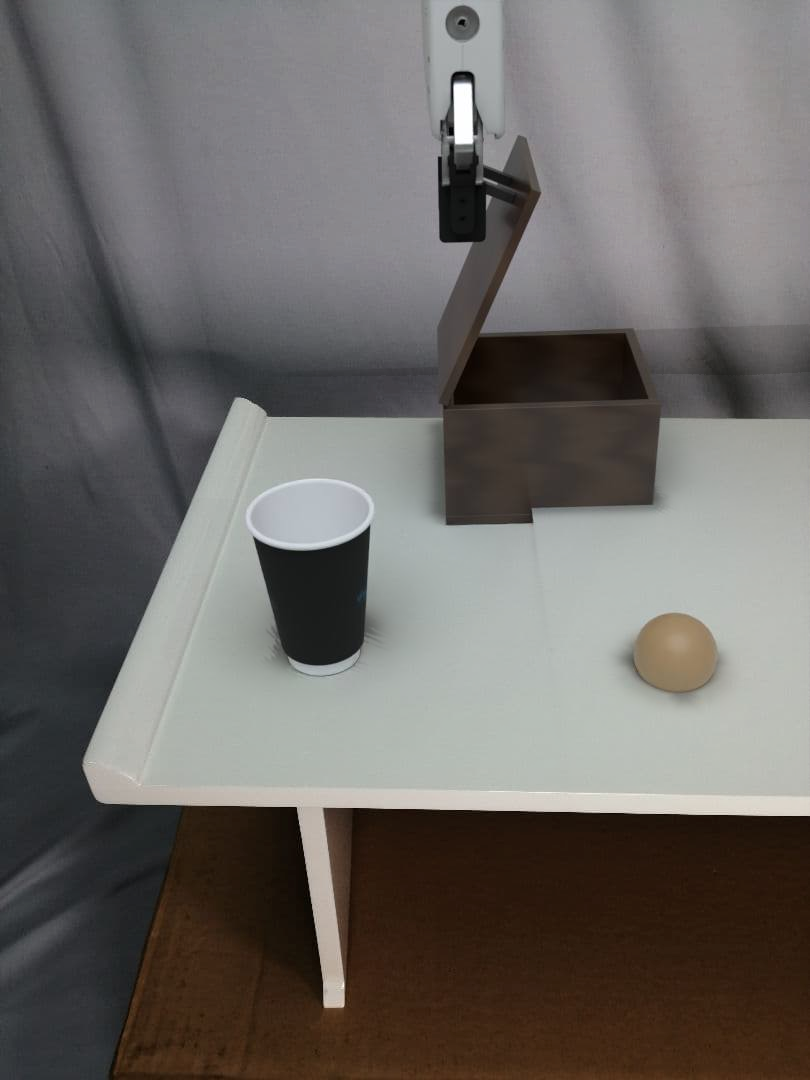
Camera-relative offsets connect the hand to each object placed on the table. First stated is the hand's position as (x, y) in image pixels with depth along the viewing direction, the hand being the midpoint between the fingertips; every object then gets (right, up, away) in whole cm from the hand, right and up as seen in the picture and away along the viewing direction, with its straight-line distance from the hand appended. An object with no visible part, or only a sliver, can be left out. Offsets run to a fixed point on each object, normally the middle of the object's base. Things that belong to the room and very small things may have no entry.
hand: (461, 223), depth 84 cm
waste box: (+7, -18, +11) cm, 22 cm away
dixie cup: (-9, -30, -6) cm, 32 cm away
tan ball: (+13, -32, -11) cm, 36 cm away
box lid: (+2, -3, +2) cm, 4 cm away
